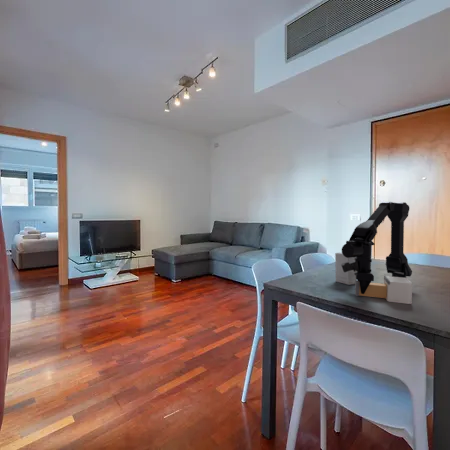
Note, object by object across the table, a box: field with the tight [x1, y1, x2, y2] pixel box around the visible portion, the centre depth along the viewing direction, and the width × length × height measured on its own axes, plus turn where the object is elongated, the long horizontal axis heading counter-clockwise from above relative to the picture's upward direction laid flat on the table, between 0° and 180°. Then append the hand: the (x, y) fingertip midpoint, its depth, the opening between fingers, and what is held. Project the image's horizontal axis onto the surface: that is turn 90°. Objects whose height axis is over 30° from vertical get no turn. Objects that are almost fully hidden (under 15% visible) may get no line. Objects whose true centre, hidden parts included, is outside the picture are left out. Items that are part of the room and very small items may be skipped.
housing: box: [383, 275, 413, 305], centre depth 110 cm, size 10×8×8 cm
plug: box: [354, 279, 387, 299], centre depth 113 cm, size 4×16×5 cm, turn 68°
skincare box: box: [334, 251, 357, 286], centre depth 135 cm, size 8×6×15 cm
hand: (362, 292), depth 115 cm, fingers closed on plug, 4 cm apart
